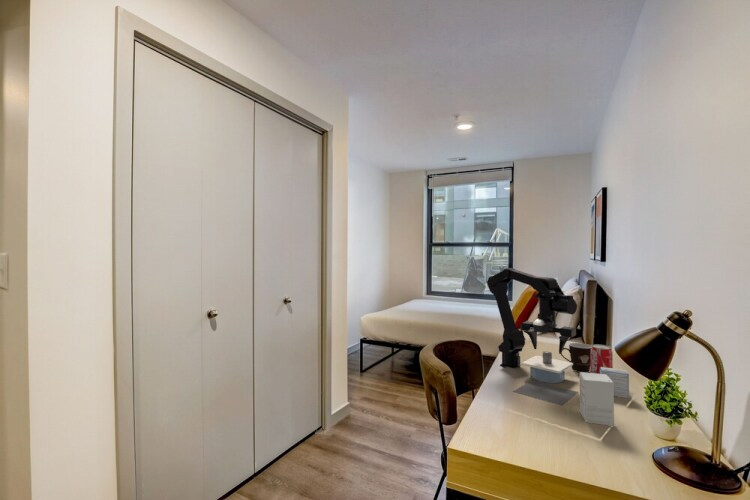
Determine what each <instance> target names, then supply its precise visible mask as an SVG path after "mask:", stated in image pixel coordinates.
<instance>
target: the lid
mask: <svg viewBox="0 0 750 500" xmlns="http://www.w3.org/2000/svg"><path fill="white" fill-rule="evenodd" d="M520 365H521V366H525V367H533V368H537V369H542V370H546V371H551V372H555V373H559V374H560V373H562V372H563V371H567V370H568V369H570V368H572V366H573V363H571V362H569V361H567V360H566V361H565V360H559V359H557V358H556V359H555V358H553V353H552V351H542V356H541V355H535V356H532V357H530V358H528V359H526V360H524V361H522V362H520Z"/></svg>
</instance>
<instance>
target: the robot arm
mask: <svg viewBox="0 0 750 500" xmlns="http://www.w3.org/2000/svg"><path fill="white" fill-rule="evenodd" d="M513 280H514V281H516V282H520V283H522V284H523V285H524V284H525V285H528V286H530V287H531V288H532V289H533V290H534V291H536V292H537V293H536V294H535V295H534V296H533V298H535V299H538V309H539V311H538V313H537V317H536V319H535V320H534V321H523V322H521V323H520V329H519V328H518V327H517V325H516V322H515V318H514V315H513V312H512V311H513V310H512V307H511V305H510V302H509V301H510V300H509V298H508V295H507V294H508V290H509V285H508V284H509V283H511V282H512V281H513ZM486 284H487V288H488V289H489V292H490V293H491V294H492V295H493V296H494V297H495V301H496V305H497V308H498V311H499V315H500V319H501V323H502V326H503V333H502V342H501V343H500V344H499V345H498V347H497V348H498V351H499V353H501V363H500V364H499V366H501V367H504V368H511V369H516V368H518V367H521V366H522V365H521V355H520V352H522V351H523V349H524V346H525V345H526V342H525V341H526V340H527V339H526V336H525V335H524V333H525V334H527V336H528V337H529V339H530V341H531V344H532V346H533V350H537V347H538V333H541V334H548V332H549V333H556V334H559V336H558V339H559V346H558V347H559V348H558V354H559V355H561V353H562V352H563V351H564V350H563V348H565V347H566V344H567V342H568V340H569V339H571V338H573V337H575V336H577V330H576V328H575V327H574V326H573V327H571V326H567V325H566V326H565V325H564V326H562V327H557V326H558V325H557V324H558V323H556V322H557V321H556V319H557V318H556V317H557V313H558V314H559V313H560V314H566V315H575V313H577V310H578V304H577V301H576V300H575V299H574V295H568V294H567V295H565V293H564V292H563V290H562V289H561V287H560V286H559V283H558V281H557V279H556V278H553V277H548V276H547V277H545V276H537V275H533V274H530V273H527V272H524V271H521V270H518V269H516V268H513V267H508V268H504V269H502V270H501V271H500V272H498V273H495V274H494V275H492V276H489V277H488V279H487V281H486ZM562 354H563V353H562Z"/></svg>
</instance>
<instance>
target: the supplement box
mask: <svg viewBox="0 0 750 500" xmlns="http://www.w3.org/2000/svg"><path fill="white" fill-rule="evenodd" d="M614 398H615V396H614V383H613V382H612V380H611V379H610V378H609V377H608V376H607V375H606V374H596V373H590V372H579V413H580V415H581V416H582V419H583V420H584V422H585V423H589V424H590V423H591V424H597V425H604V426H609V427H611V428H614V427H615V405H614V404H615V399H614Z"/></svg>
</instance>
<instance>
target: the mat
mask: <svg viewBox="0 0 750 500" xmlns="http://www.w3.org/2000/svg"><path fill="white" fill-rule="evenodd" d="M512 392H513V393H516V394H519V395H523V396H526V397H530V398H534V399H536V400H540V401H543V402H547V403H551V404H554V405H557V406H560V407H562V406H563V405H565V404H566V403H567V402H568V401H570V400H571V399H572V398H573V397H575V396H576V395H577V394H578V393H579V391H577V390H571V389H568V388H565V387H560V386H555V385H552V384H550V383H549V384H548V383H546V382H542V381H538V380H537V381H536V380H534V379H533V380H530V381H528V382H527V383H526V382H525V384H522V385H521V386H520V387H518V388H516V389H515V390H513V391H512Z"/></svg>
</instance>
